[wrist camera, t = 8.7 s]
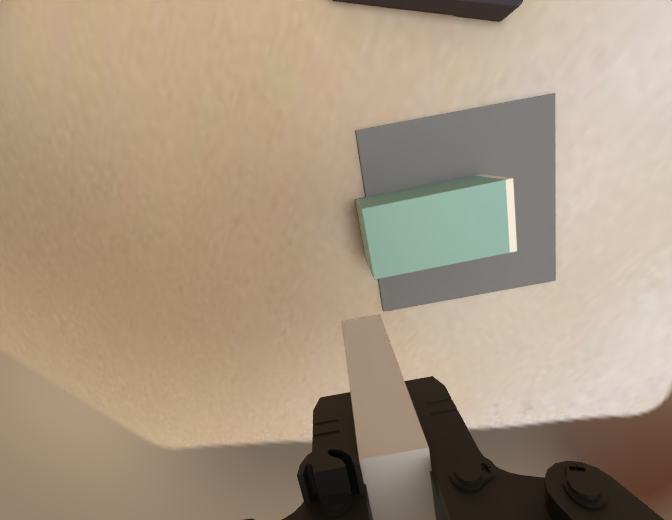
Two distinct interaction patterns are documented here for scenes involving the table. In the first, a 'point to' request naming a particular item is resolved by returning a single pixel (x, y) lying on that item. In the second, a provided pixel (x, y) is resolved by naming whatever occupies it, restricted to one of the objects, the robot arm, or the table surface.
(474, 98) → the table surface
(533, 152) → the mat
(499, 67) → the table surface
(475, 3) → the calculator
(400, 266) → the block
